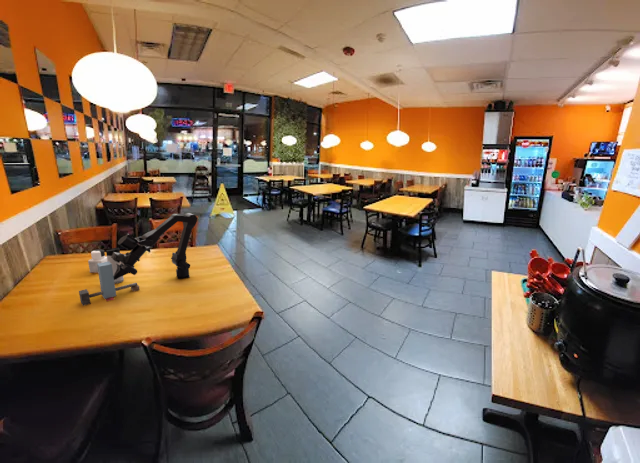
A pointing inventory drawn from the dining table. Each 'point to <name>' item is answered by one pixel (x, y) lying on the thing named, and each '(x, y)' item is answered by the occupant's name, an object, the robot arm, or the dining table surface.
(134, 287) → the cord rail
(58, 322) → the dining table surface
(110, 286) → the sleeve
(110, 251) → the travel mug
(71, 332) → the dining table surface
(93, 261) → the container
